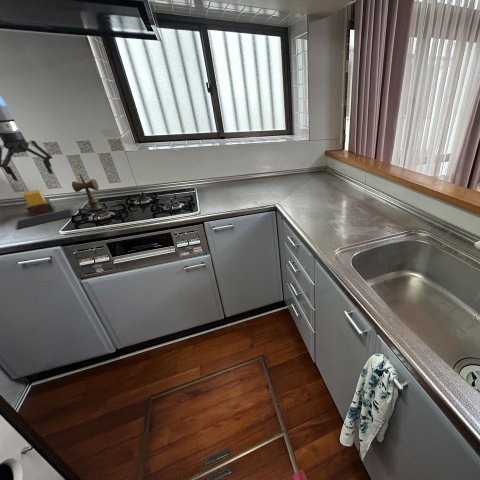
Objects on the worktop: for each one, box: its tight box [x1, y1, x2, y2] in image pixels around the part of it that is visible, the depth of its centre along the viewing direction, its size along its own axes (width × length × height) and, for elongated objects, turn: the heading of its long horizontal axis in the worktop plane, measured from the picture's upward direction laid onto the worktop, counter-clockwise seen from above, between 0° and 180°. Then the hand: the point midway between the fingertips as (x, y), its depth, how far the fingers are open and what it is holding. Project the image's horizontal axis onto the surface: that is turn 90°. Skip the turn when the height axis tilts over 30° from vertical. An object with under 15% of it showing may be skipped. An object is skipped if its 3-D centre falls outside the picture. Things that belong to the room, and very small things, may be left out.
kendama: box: [71, 173, 103, 212], centre depth 141 cm, size 6×10×20 cm, turn 113°
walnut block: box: [25, 198, 55, 218], centre depth 144 cm, size 9×9×5 cm
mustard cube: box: [23, 189, 45, 206], centre depth 141 cm, size 6×6×6 cm
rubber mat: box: [17, 209, 72, 230], centre depth 136 cm, size 20×12×1 cm, turn 133°
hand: (34, 176), depth 135 cm, fingers open, 13 cm apart
